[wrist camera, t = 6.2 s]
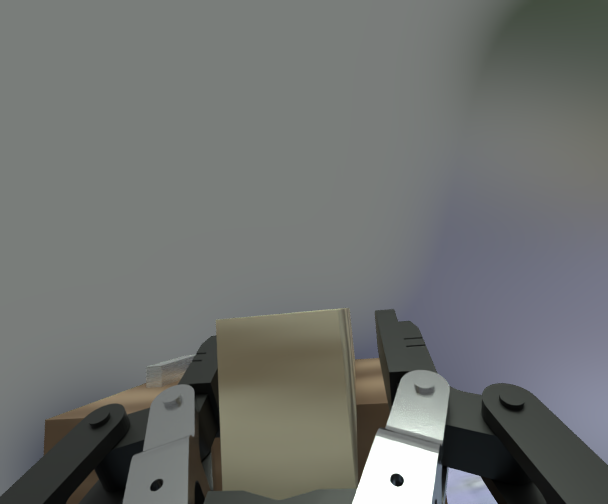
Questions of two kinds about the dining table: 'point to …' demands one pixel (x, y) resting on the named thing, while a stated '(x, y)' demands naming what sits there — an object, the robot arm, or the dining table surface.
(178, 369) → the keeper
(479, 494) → the dining table surface
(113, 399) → the stand
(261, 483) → the bar
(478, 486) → the dining table surface
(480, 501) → the dining table surface
